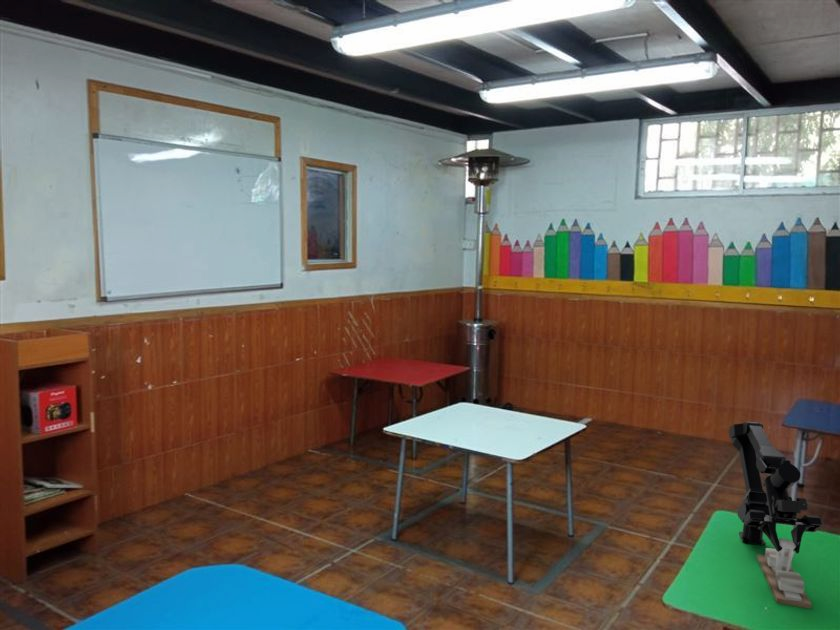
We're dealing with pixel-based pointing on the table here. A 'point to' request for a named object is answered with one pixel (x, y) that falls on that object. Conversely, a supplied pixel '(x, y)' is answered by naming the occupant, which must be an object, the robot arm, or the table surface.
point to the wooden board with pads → (783, 581)
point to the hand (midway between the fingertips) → (788, 552)
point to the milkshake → (785, 554)
